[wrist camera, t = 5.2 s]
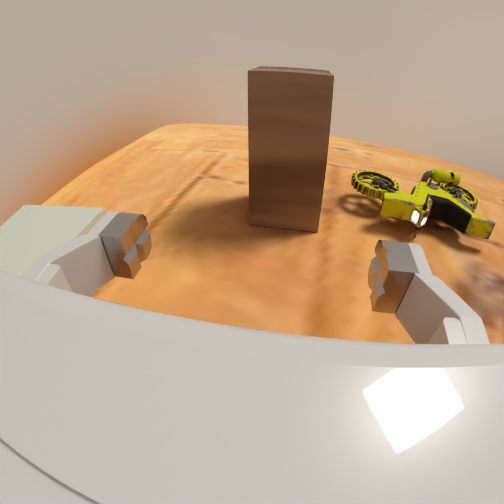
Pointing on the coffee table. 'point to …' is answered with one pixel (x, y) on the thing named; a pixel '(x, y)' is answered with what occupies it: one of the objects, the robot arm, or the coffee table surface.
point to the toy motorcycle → (426, 201)
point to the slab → (42, 232)
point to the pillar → (288, 145)
